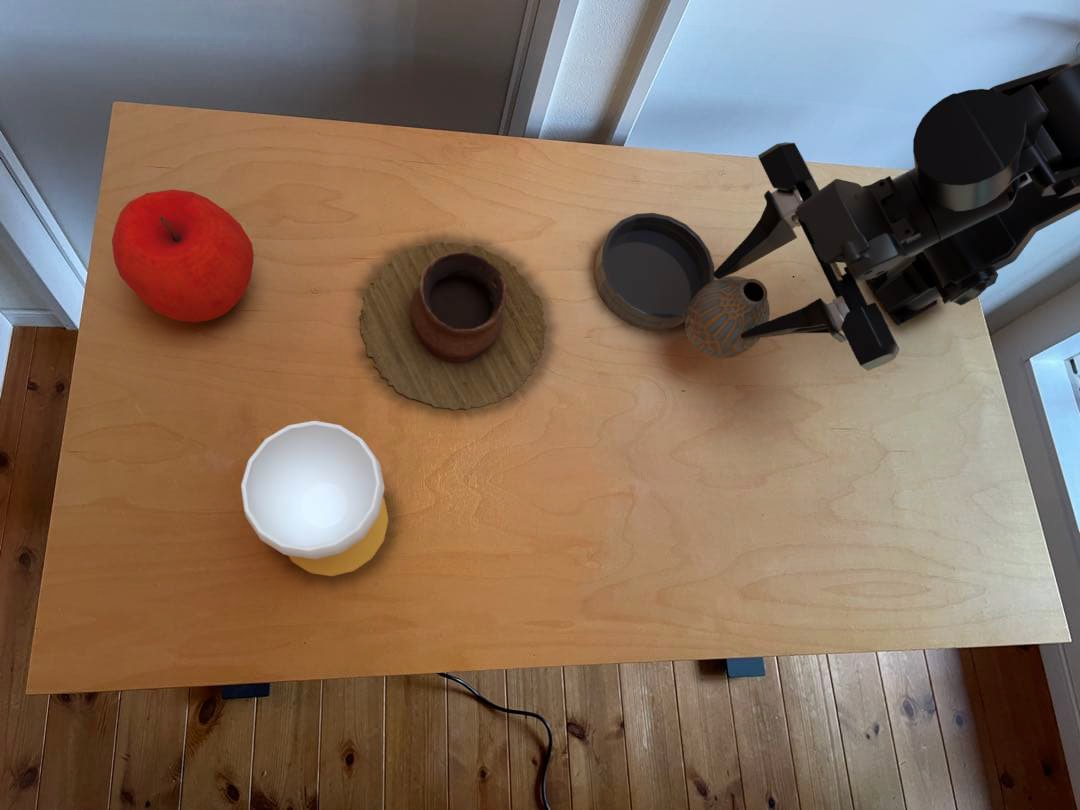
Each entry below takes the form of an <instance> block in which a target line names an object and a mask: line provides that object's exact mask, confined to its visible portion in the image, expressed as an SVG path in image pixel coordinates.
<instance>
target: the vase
mask: <svg viewBox="0 0 1080 810" xmlns="http://www.w3.org/2000/svg"><path fill="white" fill-rule="evenodd" d="M770 307H771V306H770V303H769V300H768V289H767V288H766V286H765V284H764V283H763V282H761V280H760V279H759V280H758V279H756V278H745V277H742V276H737V275H736V276H735V275H731V276H730V275H728V276H725V277H723V278H720V279H714V281H712V282H710V283H709V284H707V285H706V286H704V287H703V288H702V289H701V290H700V291H699V292H698V293H697V294H696V295H695V296H694V298H693V299H692V301H691V302H690V304H689V307H688V309H687V312H686V318H685V322H684V326H685V327H684V328H685V332H686V336H687V338H688V340H689V343H691V345H692V346H693V347H694V348H695V349H696V350H697V351H699V353H701V354H703V355H705V356H707V357H709V358H712V359H722V360H725V359H731V358H735V357H738V356H741V355H743V354H744V353H746V352H748V351H749V350H750V349H752V348H753V347H754V346H756V345H757V343H758V342H759V341H760V340H761V339H762V338H756V339H748V340H744V339H742V338H741V334H742V333H744V332H746V331H748V330H749V329H751V328H753V327H755V326H757V325H760V324H762V323H765V322H768V321H770V317H771V308H770Z"/></svg>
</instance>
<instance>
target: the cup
mask: <svg viewBox="0 0 1080 810" xmlns="http://www.w3.org/2000/svg"><path fill="white" fill-rule="evenodd" d="M381 466H382V465H381V463H380V461H379V460H378V458H377V457H376V455H375V454H374V453H373V451H372V450H371V448H370V447H369V446H368V444H367V442H365V441H364V439H363V438H362V437H360V436H358V435H357V434H355V433H354V432H352V431H350V430H348V429H347V428H345V427H344V426H342V425H340V424H335V423H330V422H324V421H319V420H310V421H304V422H300V423H294V424H288V425H286V426H285V427H283V428H281V429H280V430H278V431H276V432H274V433H273V434H271V435H270V436H267V437H265V439H264V440H262V442H261V443H260V445H259V446H258V447H257V449H256V450H255V451H254V452H253V454H251V456H250V457H249V458H248V460H247V463H246V466H245V470H244V473H243V477H242V480H241V483H240V488H241V489H240V490H241V496H242V497H241V498H242V503H243V511H244V515H245V518H246V520H247V521H248V523H249V524H250V526H251V527H252V529H253V530H254V532H255V534H256V535H257V537H258V538H259V540H260V541H262V542H263V543H264V544H266V545H268V546H269V547H271V548H273V549H274V550H276V551H277V552H279V553H281V554H282V555H284V556H287V557H288V558H289V560H290V561H291V562H292V563H293V564H295V565H297V566H298V567H300V568H301V569H302V570H304V571H307V572H308V573H309V574H314V575H321V576H327V577H335V576H339V575H344V574H348V573H352V572H355V571H357V570H358V569H359V568H360V567H362V566H364V565H365V564H366V563H368V562H369V561H372V559H373V558H374V556H375V555H376V553H377V552H378V550H379V549H380V547H381V546H382V545H383V543H384V541H385V539H386V533H387V528H388V526H389V525H388V524H389V515H388V510H387V505H386V501H385V500H386V499H385V498H384V495H385V494H384V493H385V489H386V487H385V482H384V476H383V471H382V467H381Z"/></svg>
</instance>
